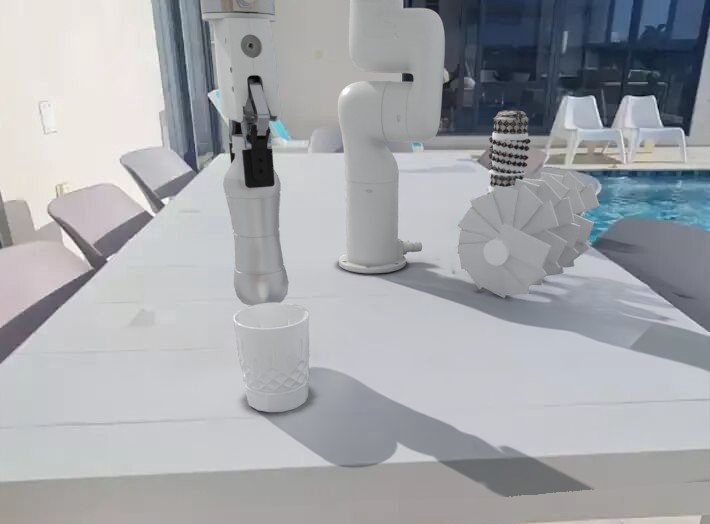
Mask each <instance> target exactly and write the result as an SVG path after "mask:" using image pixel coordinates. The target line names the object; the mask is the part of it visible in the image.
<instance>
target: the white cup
mask: <svg viewBox="0 0 710 524" xmlns="http://www.w3.org/2000/svg"><path fill="white" fill-rule="evenodd" d="M232 321H233V326H234V327H233V328H234V334H235V341H236V345H237V346H236V347H237V353H238V359H239V364H240V370H241V376H242V381H243V382H244V387H245V394H246V399H247V403H248V406H249V407H251V408H253V409H255V410H256V411H260V412H266V413H283V412H287V411H291V410H295V409H298V408H299V407H301V406H302V405H304V404H305V403H306V401H307V400H308V397H309V375H310V373H309V372H310V313H309V310H307V308H305V307H304V306H301V305H298V304H295V303H291V302H289V303H288V302H280V303H263V304H257V305H252V306H251V305H248V306H246V307H243V308H241V309H239V310H238V311H236V312H235V313H234V314H233V316H232Z"/></svg>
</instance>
